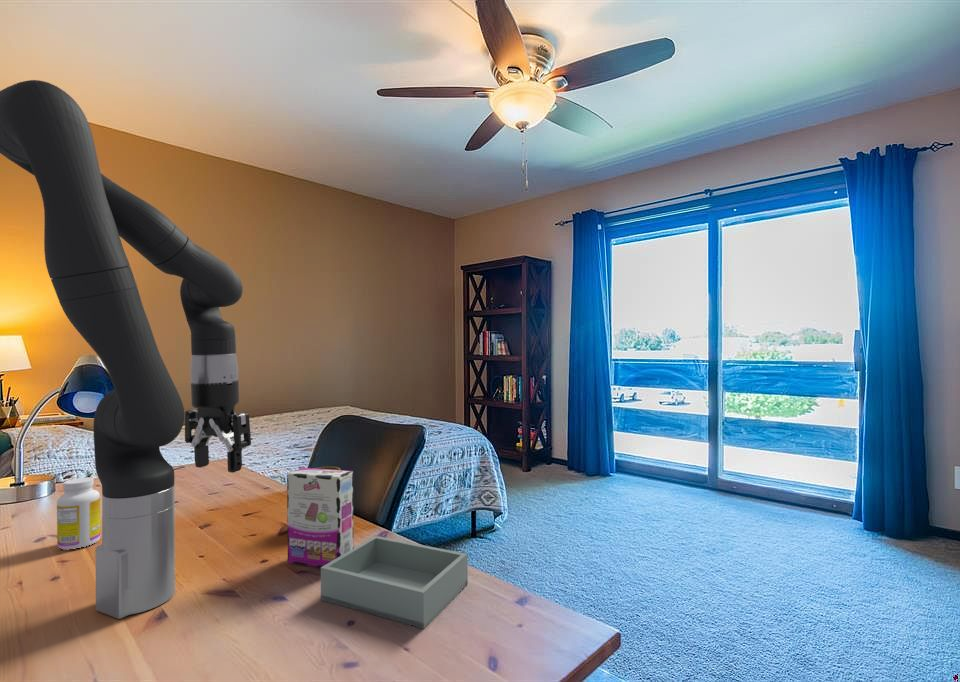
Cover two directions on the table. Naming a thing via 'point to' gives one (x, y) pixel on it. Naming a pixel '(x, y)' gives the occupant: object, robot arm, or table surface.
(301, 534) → the candy bar box
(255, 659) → the table surface
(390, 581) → the bin
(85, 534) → the supplement bottle
